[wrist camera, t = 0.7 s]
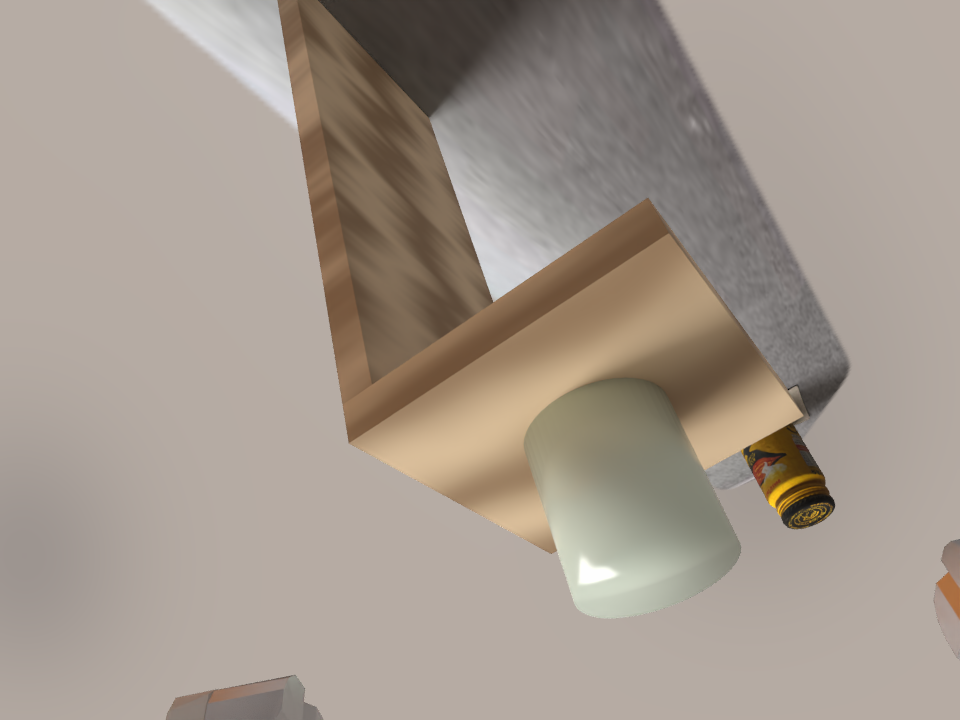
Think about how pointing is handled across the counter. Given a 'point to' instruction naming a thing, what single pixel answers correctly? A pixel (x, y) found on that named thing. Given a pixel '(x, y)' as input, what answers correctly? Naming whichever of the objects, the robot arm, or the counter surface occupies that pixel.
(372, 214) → the oak counter shelf
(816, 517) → the condiment
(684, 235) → the counter surface
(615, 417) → the pale green cylinder
